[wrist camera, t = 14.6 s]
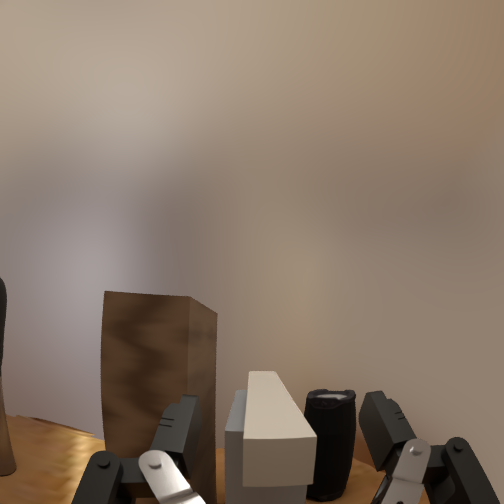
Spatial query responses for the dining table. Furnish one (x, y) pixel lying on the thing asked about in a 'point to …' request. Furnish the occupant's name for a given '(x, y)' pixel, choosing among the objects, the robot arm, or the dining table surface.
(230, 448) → the grey stand
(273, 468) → the cream bar
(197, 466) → the walnut pedestal
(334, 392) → the portable speaker
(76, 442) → the dining table surface
